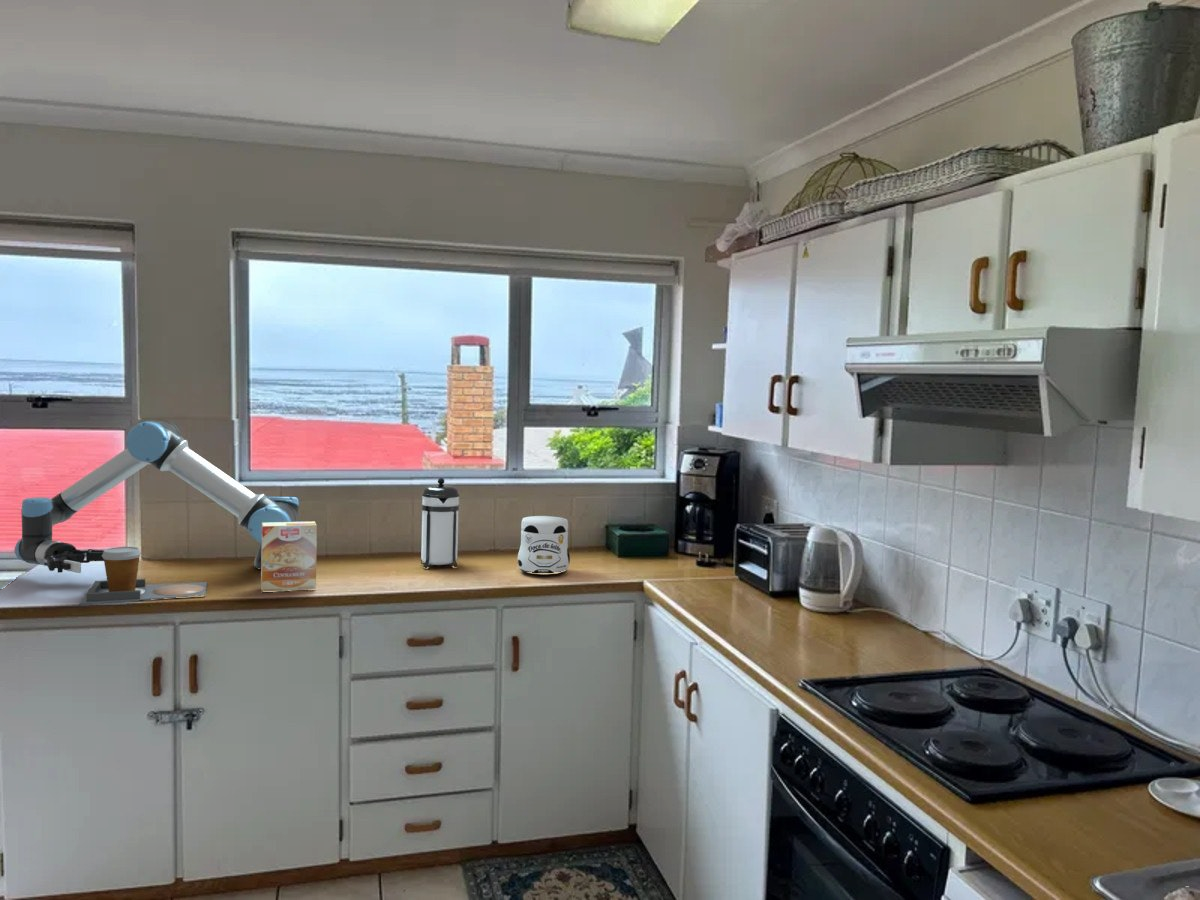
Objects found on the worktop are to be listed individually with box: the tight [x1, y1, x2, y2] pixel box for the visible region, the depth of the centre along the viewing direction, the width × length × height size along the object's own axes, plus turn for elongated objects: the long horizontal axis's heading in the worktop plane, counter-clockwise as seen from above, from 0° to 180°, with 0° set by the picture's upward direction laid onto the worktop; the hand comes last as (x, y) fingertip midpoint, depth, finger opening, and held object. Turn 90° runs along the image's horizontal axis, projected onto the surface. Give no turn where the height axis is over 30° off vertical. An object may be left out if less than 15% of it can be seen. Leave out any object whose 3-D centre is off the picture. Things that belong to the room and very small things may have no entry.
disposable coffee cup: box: [102, 546, 142, 592], centre depth 234 cm, size 10×10×12 cm
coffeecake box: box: [260, 521, 318, 592], centre depth 248 cm, size 15×7×20 cm, turn 114°
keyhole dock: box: [79, 578, 208, 606], centre depth 237 cm, size 30×17×3 cm, turn 113°
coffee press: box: [420, 477, 461, 568], centre depth 288 cm, size 17×16×30 cm
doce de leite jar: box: [517, 515, 571, 573], centre depth 282 cm, size 17×17×18 cm
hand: (103, 563), depth 238 cm, fingers open, 13 cm apart
